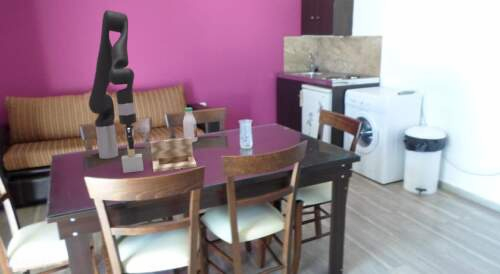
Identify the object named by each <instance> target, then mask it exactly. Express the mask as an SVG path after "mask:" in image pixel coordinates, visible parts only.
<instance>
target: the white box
mask: <svg viewBox="0 0 500 274" xmlns="http://www.w3.org/2000/svg"><path fill="white" fill-rule="evenodd" d="M133 144H134V145H135V142H134V143H133ZM126 149H127V154H126V155H121V166H122V171H123V173H124V174H127V173H133V172H140V171H141V172H143V171H144V162H143V153H136V152H135V151H136V150H135V148H134V149H131V150H130V149H129V145H128V143H126Z"/></svg>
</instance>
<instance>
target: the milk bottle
mask: <svg viewBox="0 0 500 274" xmlns="http://www.w3.org/2000/svg"><path fill="white" fill-rule="evenodd" d="M182 127H183V138H190V137H191V138H192V144H193V143H196V142H198V140H199V139H198V128H197V121H196V118H195V116H194V114H193V107H190V106H189V107H185V108H184V117H183V121H182Z"/></svg>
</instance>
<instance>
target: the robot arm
mask: <svg viewBox="0 0 500 274" xmlns="http://www.w3.org/2000/svg"><path fill="white" fill-rule="evenodd" d="M128 19H129V18H128V15H127V14H125V13H123V12H117V11H115V10H109V9H107V10H104V13H103V17H102V23H101V32H100V33H101V34H100V42H99V47H98V48H99V49H98V55H97V58H96V65H95V73H94V80H93V85H92V88H91V93H90V96H89V100H88V107H89V109H90V111H91V112H92V113H93V114H96V115H98V116H97V118H96V119H95V121H94V125H95V131H96V138H97V141H96V143H97V148H98V149H97V150H98V155H99V156H98V157H99V159H103V160H107V159H108V160H109V159H114V158H117V157H118V156H119V150H118V149H119V148H118V141H117V135H116V133H117V132H116V128H115V119H116V117H115V116H116V115H115V104H114V99H113V98H112V96H111V95H110V94H108V93H107V91H108V88H109V85H110V83H111V84H112V85H113V86H119V85H126V86H125V88H123V89H122V88H121V89H119V90H116V93H115V95H116V102H117V111H118V112H117V115H118V119H119V120H118V121H119V124H120V125H125V126H124V132H125V137H126V141H127V144H128V145H129V149H130V150H131V149H134V150H135V140H134V136H135V135H134V133H135V127H134V125H133V124H135V123H137V121H138V120H137V114H136V107H135V102H134V95H133V90H134V89H133V88H134V87H133V86H134V80H135V72H134V70H133V69H131V68H130V67H128V66H129V55H128V36H129V20H128ZM110 32H115V33H120V35H119V38H117V40H116V42H114V44H113V45H112V43H111V39H110ZM133 143H134V144H133Z"/></svg>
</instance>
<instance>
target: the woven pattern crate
mask: <svg viewBox="0 0 500 274" xmlns="http://www.w3.org/2000/svg"><path fill="white" fill-rule="evenodd" d="M149 143H150V151H151V153H150V154H151V159H152V169H153V170H152V171H153V173H159V172H165V171H167V172H168V171H173V170H174V169H175V170H182V169H181V168H183V169H191V168H196V167H197V162H196V160H195V157H194V153H193V152H194V150H193V149H194V148H193V143H192V138H191V137H190V138H184V137H183V138H174V139H173V138H172V139H164V140H157V141H156V140H154V141H150V142H149Z"/></svg>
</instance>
